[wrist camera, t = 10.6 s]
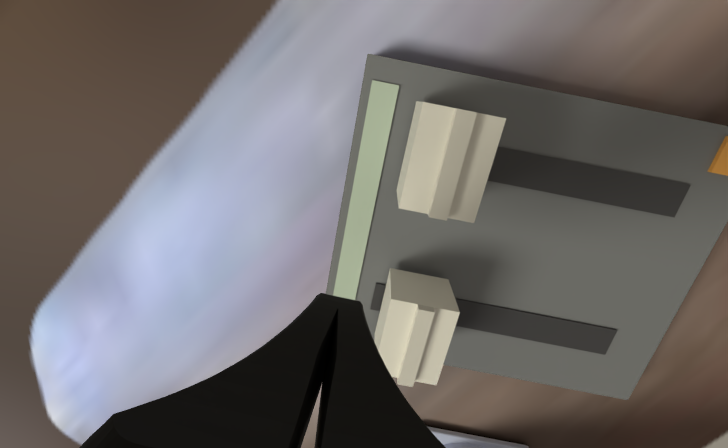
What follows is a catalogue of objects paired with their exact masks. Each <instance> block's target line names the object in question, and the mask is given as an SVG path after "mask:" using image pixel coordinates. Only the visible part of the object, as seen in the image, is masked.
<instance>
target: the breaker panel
mask: <svg viewBox="0 0 728 448" xmlns="http://www.w3.org/2000/svg"><path fill="white" fill-rule="evenodd" d="M416 101H419V102H426V103H431V104H436V105H441V106H446V107H451V108H457V109H462V110H467V111H472V112H477V113H481V114H486V115H491V116H496V117H501V118H506V121H505V125H504V128H503V131H502V134H501V138H500V141H499V144H498V147H497V151H496V154H495V157H494V160H493V164H492V167H491V170H490V173H489V177H488V180H487V183H486V186H485V189H484V193H483V196H482V199H481V202H480V206H479V209H478V212H477V215H476V219H475V222H474V223H470V222H465V221H460V220H455V219H450V218H448V219H447V221H445V220H440V219H435V218H430V217H429V216H428V214H425V213H420V212H415V211H410V210H404V209H399V206H398V198H397V185H398V181H399V176H400V172H401V167H402V163H403V159H404V154H405V150H406V145H407V141H408V136H409V132H410V127H411V123H412V118H413V114H414V110H415V105H416ZM727 221H728V126H725V125H720V124H715V123H710V122H705V121H700V120H695V119H690V118H685V117H680V116H675V115H670V114H665V113H660V112H655V111H650V110H645V109H640V108H635V107H630V106H625V105H620V104H616V103H611V102H606V101H601V100H596V99H591V98H586V97H581V96H576V95H571V94H566V93H561V92H556V91H551V90H546V89H541V88H536V87H531V86H526V85H521V84H516V83H511V82H506V81H501V80H496V79H491V78H486V77H481V76H476V75H471V74H466V73H461V72H456V71H451V70H446V69H442V68H437V67H432V66H427V65H422V64H417V63H412V62H407V61H402V60H397V59H392V58H387V57H382V56H377V55H372V54H368V55H367V60H366V66H365V72H364V78H363V83H362V89H361V95H360V101H359V106H358V112H357V118H356V124H355V129H354V135H353V141H352V146H351V152H350V158H349V164H348V169H347V175H346V181H345V187H344V192H343V198H342V204H341V210H340V215H339V221H338V227H337V233H336V238H335V244H334V250H333V255H332V261H331V267H330V273H329V278H328V284H327V290H326V294H328V295H333V296H337V297H340V298H341V297H342V298H347V299H352V300H356V301H360V302H361V303H362V305H363V309H364V314H365V317H366V321H367V324H368V327H369V330H370V332H371V335H372V337H373V340H374V338H375V330H376V326H377V322H378V317H379V313H380V309H381V305H382V300H383V296H384V292H385V288H386V283H387V279H388V275H389V271H390V268H393V269H398V270H403V271H408V272H413V273H418V274H424V275H429V276H434V277H439V278H444V279H448V280H449V283H450V285H451V288H452V291H453V294H454V297H455V300H456V303H457V305H458V308H459V311H460V314H459V317H458V320H457V323H456V326H455V329H454V332H453V336H452V339H451V342H450V345H449V348H448V351H447V354H446V357H445V360H444V363H443V365H448V366H453V367H458V368H464V369H469V370H474V371H479V372H484V373H489V374H495V375H500V376H505V377H510V378H515V379H521V380H526V381H531V382H536V383H541V384H546V385H552V386H557V387H562V388H567V389H572V390H578V391H583V392H588V393H593V394H598V395H603V396H609V397H614V398H619V399H624V400H628V399H629V397H630V395H631V393H632V392H633V390H634V388H635V386H636V384H637V383H638V381H639V379H640V377H641V375H642V374H643V372H644V370H645V368H646V367H647V365H648V363H649V361H650V359H651V358H652V356H653V354H654V352H655V350H656V349H657V347H658V345H659V343H660V341H661V340H662V338H663V336H664V334H665V332H666V331H667V329H668V327H669V325H670V324H671V322H672V320H673V318H674V316H675V315H676V313H677V311H678V309H679V307H680V306H681V304H682V302H683V300H684V298H685V297H686V295H687V293H688V291H689V289H690V288H691V286H692V284H693V282H694V280H695V279H696V277H697V275H698V273H699V272H700V270H701V268H702V266H703V264H704V263H705V261H706V259H707V257H708V255H709V254H710V252H711V250H712V248H713V246H714V245H715V243H716V241H717V239H718V237H719V236H720V234H721V232H722V230H723V228H724V227H725V225H726V223H727Z"/></svg>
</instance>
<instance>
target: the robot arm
mask: <svg viewBox="0 0 728 448" xmlns="http://www.w3.org/2000/svg"><path fill="white" fill-rule="evenodd" d="M321 384H322V390H321V398H320V407H319V415H318V424H317V432H316V441H315V448H529V447H528V446H526V445H522V444H517V443H512V442H507V441H501V440H496V439H491V438H486V437H481V436H475V435H470V434H465V433H460V432H454V431H449V430H444V429H439V428H433V427H428V426H426V425H425V424H424V422H423V421H422V420H421V419H420V417H419V416H418V415H417V413H416V412H415V411H414V410H413V408H412V407H411V406H410V405H409V403H408V402H407V400H406V399H405V397H404V396H403V394H402V393H401V391H400V390H399V388H398V387H397V385H396V383H395V382H394V380H393V378H392V377H391V375H390V373H389V371H388V369H387V368H386V366H385V364H384V362H383V360H382V358H381V356H380V353H379V351H378V349H377V347H376V344H375V342H374V340H373V337H372V335H371V332H370V330H369V327H368V324H367V321H366V317H365V314H364V309H363V305H362V303H361V302H360V301H356V300H352V299H347V298H342V297H341V298H340V297H337V296H333V295H328V294H323V293H320V294H319V295H317V296H316V297H315V299H314V300H313V301H312V302H311V304H310V305H309V306H308V307H307V308H306V309H305V310H304V311H303V312H302V313H301V314H300V315H299V316H298V317H297V318H296V319H295V320H294V321H293V322H292V323H291V324H289V325H288V326H287V327H286V328H285V329H284V330H282V331H281V332H280V333H279V334H278V335H276V336H275V337H274V338H273V339H271V340H270V341H269V342H267V343H266V344H265V345H263V346H262V347H261V348H259V349H258V350H256V351H255V352H253V353H252V354H250V355H249V356H247V357H246V358H244V359H242V360H241V361H239V362H237V363H236V364H234V365H232V366H230V367H229V368H227V369H225V370H223V371H222V372H220V373H218V374H216V375H214V376H212V377H210V378H208V379H206V380H204V381H201V382H199V383H197V384H195V385H193V386H190V387H188V388H185V389H183V390H181V391H178V392H176V393H173V394H171V395H168V396H166V397H163V398H160V399H157V400H154V401H151V402H148V403H145V404H143V405H140V406H137V407H134V408H131V409H128V410H125V411H122V412H118V413H115V414H113V415H112V416H111V417H110V418H109V419H108V420H107V421H106V422H105V423H104V424H103V425H102V426H101V427H100V428H99V429H98V430H97V431H96V432H94V433H93V434H92V435H91V436H90V437H89V438H88V439H87V440H86V441H85V442H84V443H83V444H82V446H81V447H80V448H301V445H302V442H303V439H304V436H305V433H306V430H307V427H308V424H309V421H310V418H311V415H312V412H313V409H314V406H315V403H316V400H317V397H318V394H319V390H320V387H321Z"/></svg>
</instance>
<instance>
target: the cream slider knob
mask: <svg viewBox="0 0 728 448" xmlns="http://www.w3.org/2000/svg"><path fill="white" fill-rule="evenodd" d="M459 314H460V311H459V308H458V305H457V303H456V300H455V297H454V294H453V291H452V288H451V285H450V283H449V280H448V279H444V278H439V277H434V276H429V275H424V274H418V273H413V272H408V271H403V270H398V269H393V268H390V271H389V275H388V279H387V283H386V288H385V292H384V296H383V300H382V305H381V309H380V313H379V317H378V322H377V326H376V330H375V338H374V342H375V344H376V347H377V349H378V351H379V353H380V356H381V358H382V360H383V362H384V364H385V366H386V368H387V369H388V371H389V373H390V375H391V377H396V378H397V382H398V384H399V385H404V386H410V387H413V385H414V381H417V382H422V383H427V384H432V385H437V382H438V379H439V376H440V373H441V370H442V367H443V363H444V360H445V357H446V354H447V351H448V348H449V345H450V342H451V339H452V336H453V332H454V329H455V326H456V323H457V320H458V317H459Z"/></svg>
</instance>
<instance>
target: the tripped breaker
mask: <svg viewBox="0 0 728 448" xmlns="http://www.w3.org/2000/svg"><path fill="white" fill-rule="evenodd" d="M505 121H506V118H501V117H496V116H491V115H486V114H481V113H477V112H472V111H467V110H462V109H457V108H451V107H446V106H441V105H436V104H431V103H426V102H419V101H416V105H415V110H414V114H413V118H412V123H411V127H410V132H409V136H408V141H407V145H406V150H405V154H404V159H403V163H402V167H401V172H400V176H399V181H398V185H397V198H398V206H399V209H404V210H410V211H415V212H420V213H425V214H428V216H429V217H430V218H435V219H440V220H445V221H447V219H448V218H450V219H455V220H460V221H465V222H470V223H474V222H475V219H476V215H477V212H478V209H479V206H480V202H481V199H482V196H483V193H484V189H485V186H486V183H487V180H488V177H489V173H490V170H491V167H492V164H493V160H494V157H495V154H496V151H497V147H498V144H499V141H500V138H501V134H502V131H503V128H504V125H505Z"/></svg>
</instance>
